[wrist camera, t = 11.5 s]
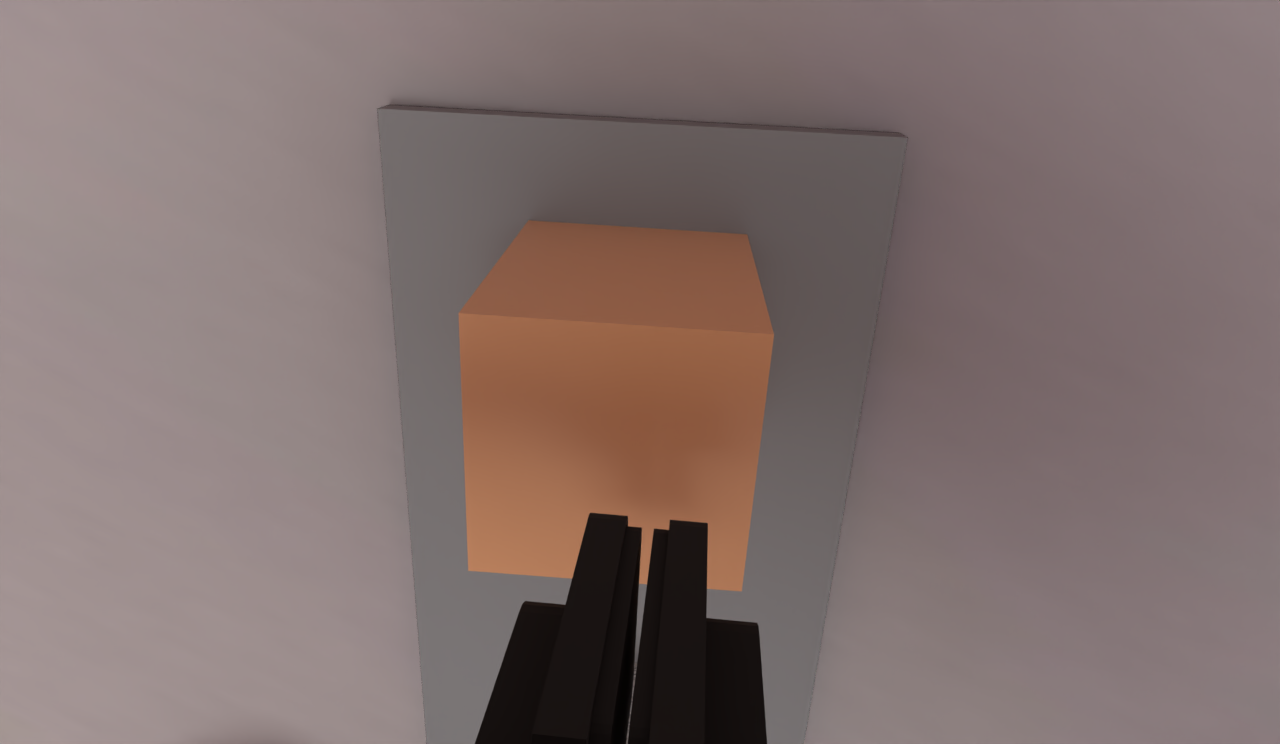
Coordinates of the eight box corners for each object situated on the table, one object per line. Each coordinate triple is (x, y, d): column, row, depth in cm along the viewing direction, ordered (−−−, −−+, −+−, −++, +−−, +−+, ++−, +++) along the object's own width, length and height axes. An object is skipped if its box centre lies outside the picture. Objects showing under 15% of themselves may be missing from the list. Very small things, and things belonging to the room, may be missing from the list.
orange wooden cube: (747, 234, 20) (774, 334, 14) (726, 429, 22) (741, 591, 16) (528, 220, 20) (458, 313, 14) (528, 415, 22) (468, 570, 16)
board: (899, 132, 19) (908, 137, 19) (787, 801, 28) (790, 822, 27) (388, 104, 20) (377, 108, 19) (436, 774, 28) (430, 794, 28)
